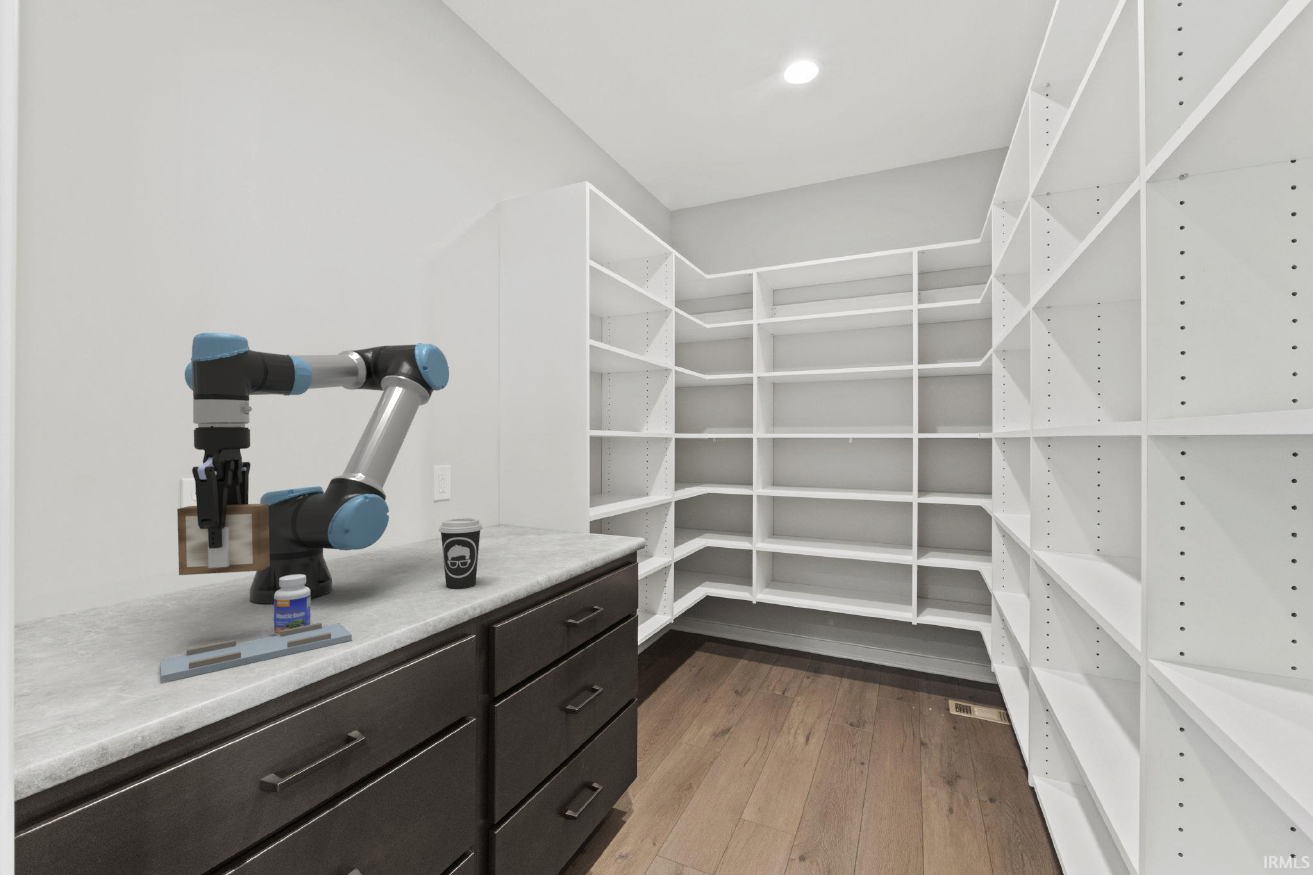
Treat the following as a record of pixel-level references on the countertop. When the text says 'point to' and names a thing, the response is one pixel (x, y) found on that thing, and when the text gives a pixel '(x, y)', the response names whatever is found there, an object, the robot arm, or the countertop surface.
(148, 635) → the countertop surface
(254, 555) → the frame
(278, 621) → the pill bottle
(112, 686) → the countertop surface
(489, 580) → the countertop surface
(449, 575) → the coffee cup
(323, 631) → the ledge
